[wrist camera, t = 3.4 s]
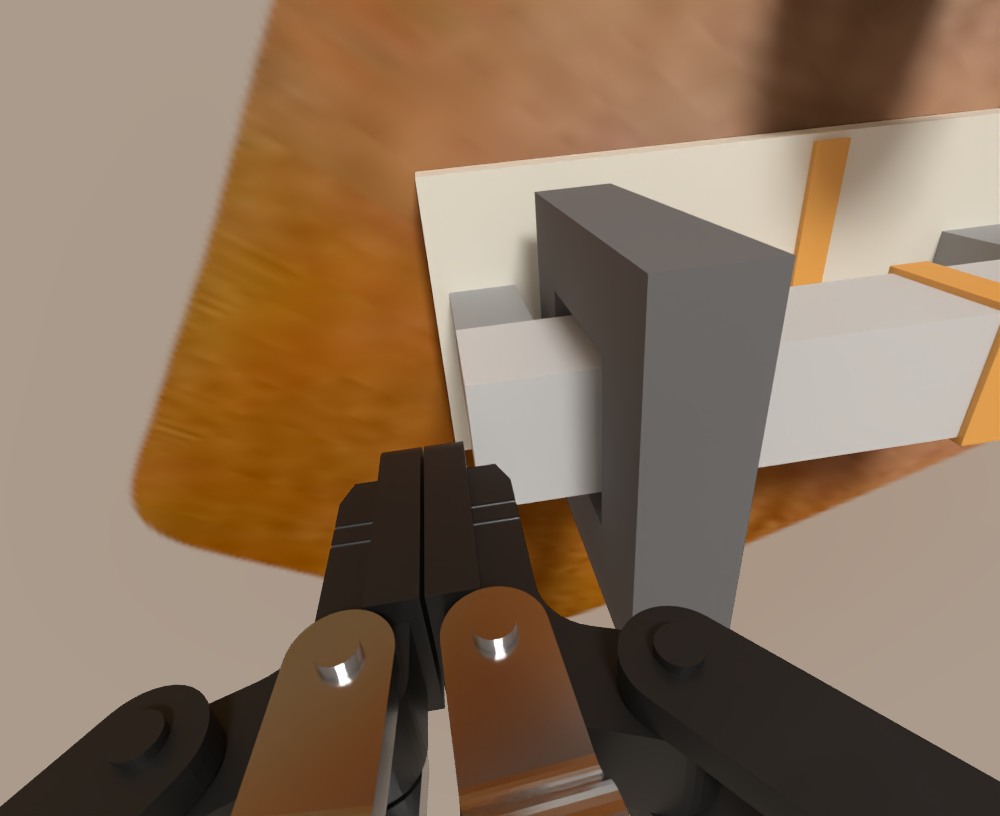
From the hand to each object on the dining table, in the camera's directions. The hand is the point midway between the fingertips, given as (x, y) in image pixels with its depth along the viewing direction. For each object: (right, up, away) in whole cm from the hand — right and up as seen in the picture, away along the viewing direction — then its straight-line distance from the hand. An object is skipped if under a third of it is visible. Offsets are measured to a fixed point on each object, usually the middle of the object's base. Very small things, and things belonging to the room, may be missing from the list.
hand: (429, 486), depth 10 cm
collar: (+4, +4, +6) cm, 8 cm away
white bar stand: (+9, +6, +9) cm, 14 cm away
